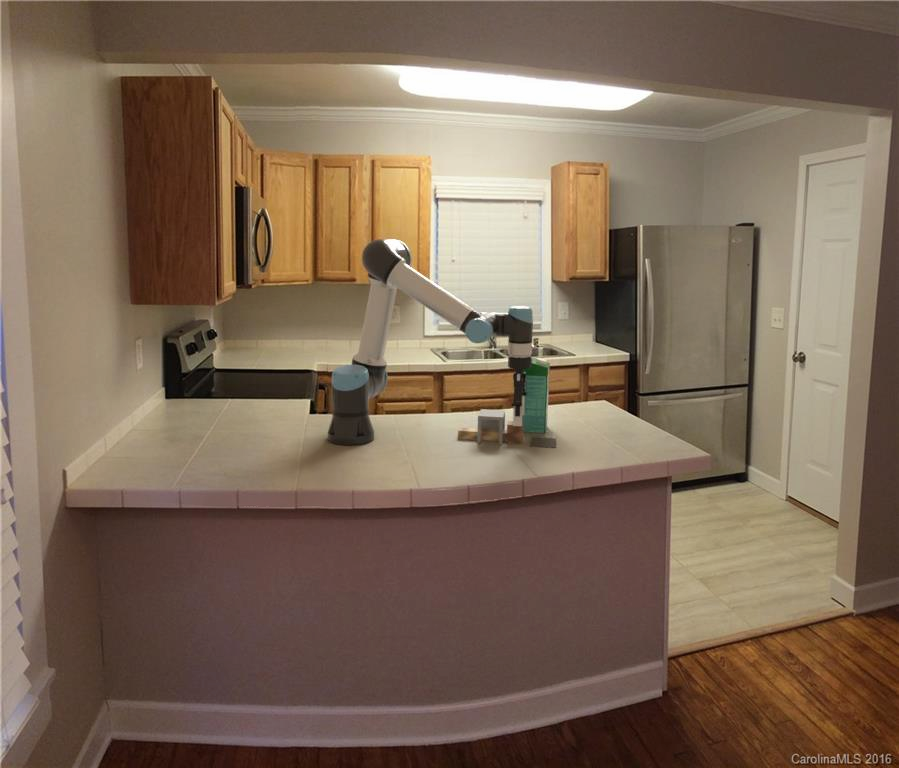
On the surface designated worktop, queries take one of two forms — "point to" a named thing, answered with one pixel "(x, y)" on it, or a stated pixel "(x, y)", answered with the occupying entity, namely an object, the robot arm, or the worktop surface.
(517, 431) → the block
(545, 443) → the mat
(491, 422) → the tunnel
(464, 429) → the tan long bar
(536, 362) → the milk carton
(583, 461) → the worktop surface
